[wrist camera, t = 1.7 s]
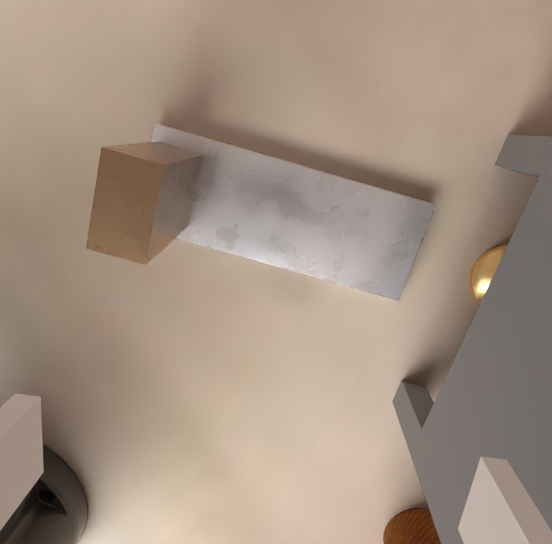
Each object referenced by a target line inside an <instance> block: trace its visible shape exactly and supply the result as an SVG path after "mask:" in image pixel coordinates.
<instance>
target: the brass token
mask: <svg viewBox="0 0 552 544" xmlns="http://www.w3.org/2000/svg"><path fill="white" fill-rule="evenodd" d="M507 245H508V244H503V245H499V246H496V247H494V248H491V249H490V250H488V251H487V252H485V253H484V254H483V255H482V256H481V257H480V258H479V259H478V260H477V261H476V263H475V265H474V267H473V269H472V271H471V275H470V287H471V291H472V293H473V295H474V297H475V298H476V300H477V301H478V302H479V303H481V301H482V299H483V297H484V295H485V293H486V290H487V288H488V286H489V284H490V282H491V280H492V278H493V275H494V273H495V271H496V269H497V267H498V265H499V263H500V260H501V258H502V256H503V254H504V252H505V250H506V247H507Z"/></svg>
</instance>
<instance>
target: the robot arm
mask: <svg viewBox="0 0 552 544" xmlns="http://www.w3.org/2000/svg"><path fill="white" fill-rule="evenodd" d="M87 514H88V511H87V502H86V498H85V494H84V492H83V489H82V487H81V485H80V483H79V481H78V479H77V478H76V476H75V475H74V473H73V472H72V471H71V469H70V468H69V467H68V466H67V465H66V464H65V463H64V462H63V461H62V460H61V459H60V458H59V457H58V456H57V455H56V454H54V453H53V452H52V451H50V450H49V449H47V448H46V447H44V446H43V441H42V415H41V397H40V396H32V395H25V394H18V393H15V394H14V395H13V396H12V397H11V398H10V399H9V400H8V401H6V402H5V403H4V404H3V405H2V406H1V407H0V544H78V542H79V540H80V538H81V536H82V534H83V532H84V530H85V527H86V523H87ZM458 530H459V533H460V535H461V538H462V540H463V543H464V544H552V531H551V529H550V528H549V526H548V525H547V523H546V521H545V520H544V518H543V517H542V515H541V513H540V512H539V510H538V509H537V507H536V505H535V504H534V502H533V501H532V499H531V498H530V496H529V494H528V493H527V491H526V490H525V488H524V486H523V485H522V483H521V482H520V480H519V478H518V477H517V475H516V474H515V472H514V471H513V469H512V467H511V466H510V464H509V463H508V461H507V460H505V459H497V458H490V457H483V456H481V458H480V461H479V464H478V467H477V470H476V473H475V476H474V480H473V483H472V486H471V489H470V492H469V495H468V498H467V502H466V505H465V508H464V511H463V514H462V517H461V520H460V524H459V527H458Z"/></svg>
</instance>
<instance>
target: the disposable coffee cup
mask: <svg viewBox="0 0 552 544" xmlns="http://www.w3.org/2000/svg"><path fill="white" fill-rule="evenodd" d="M383 541H384V544H441V542H440V539H439V536H438V533H437V530H436V527H435V524H434V522H433V519H432V516H431V513H430V510H429V509H413V510H409V511H405V512H403V513H401V514H399V515H397V516H396V517H394V518H393V519H392V520H391V521H390V522H389V523H388V525H387V527H386V529H385V531H384V536H383Z"/></svg>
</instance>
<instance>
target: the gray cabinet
mask: <svg viewBox="0 0 552 544" xmlns="http://www.w3.org/2000/svg"><path fill="white" fill-rule="evenodd" d="M495 165H497V166H500V167H503V168H507V169H510V170H513V171H516V172H519V173H523V174H527V175H532V176H537V177H539V179H538V181H537V183H536V185H535V187H534V190H533V192H532V194H531V196H530V198H529V200H528V202H527V205H526V207H525V209H524V211H523V213H522V215H521V217H520V220H519V222H518V224H517V226H516V228H515V230H514V232H513V235H512V237H511V239H510V241H509V243H508V245H507V247H506V250H505V252H504V254H503V256H502V258H501V260H500V263H499V265H498V267H497V269H496V271H495V273H494V275H493V278H492V280H491V282H490V284H489V286H488V288H487V290H486V293H485V295H484V297H483V299H482V301H481V303H480V305H479V308H478V310H477V312H476V314H475V316H474V318H473V320H472V323H471V325H470V327H469V329H468V331H467V333H466V335H465V338H464V340H463V342H462V344H461V346H460V348H459V350H458V353H457V355H456V357H455V359H454V361H453V363H452V365H451V368H450V370H449V372H448V374H447V376H446V378H445V380H444V383H443V385H442V387H441V389H440V391H439V393H438V395H437V398H436V400H435V402H433V400H432V398H431V396H430V394H429V392H428V390H427V388H426V387H423V386H419V385H416V384H412V383H409V382H405V381H401V384H400V386H399V388H398V391H397V393H396V395H395V398H394V400H393V404H394V407H395V410H396V413H397V416H398V419H399V422H400V425H401V428H402V431H403V434H404V437H405V440H406V443H407V445H408V448H409V451H410V454H411V457H412V460H413V463H414V466H415V469H416V472H417V475H418V478H419V481H420V483H421V486H422V489H423V492H424V495H425V498H426V501H427V504H428V507H429V510H430V513H431V516H432V519H433V522H434V524H435V527H436V530H437V533H438V536H439V539H440V542H441V544H464V543H463V540H462V538H461V535H460V533H459V530H458V527H459V524H460V520H461V517H462V514H463V511H464V508H465V505H466V502H467V498H468V495H469V492H470V489H471V486H472V483H473V480H474V476H475V473H476V470H477V467H478V464H479V461H480V458H481V456H483V457H490V458H497V459H505V460H507V461H508V463H509V464H510V466H511V467H512V469H513V471H514V472H515V474H516V475H517V477H518V478H519V480H520V482H521V483H522V485H523V486H524V488H525V490H526V491H527V493H528V494H529V496H530V498H531V499H532V501H533V502H534V504H535V505H536V507H537V509H538V510H539V512H540V513H541V515H542V517H543V518H544V520H545V521H546V523H547V525H548V526H549V528H550V529H551V531H552V136H531V135H508V136H507V139H506V141H505V143H504V146H503V148H502V150H501V153H500V155H499V157H498V159H497V162H496V164H495Z"/></svg>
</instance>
